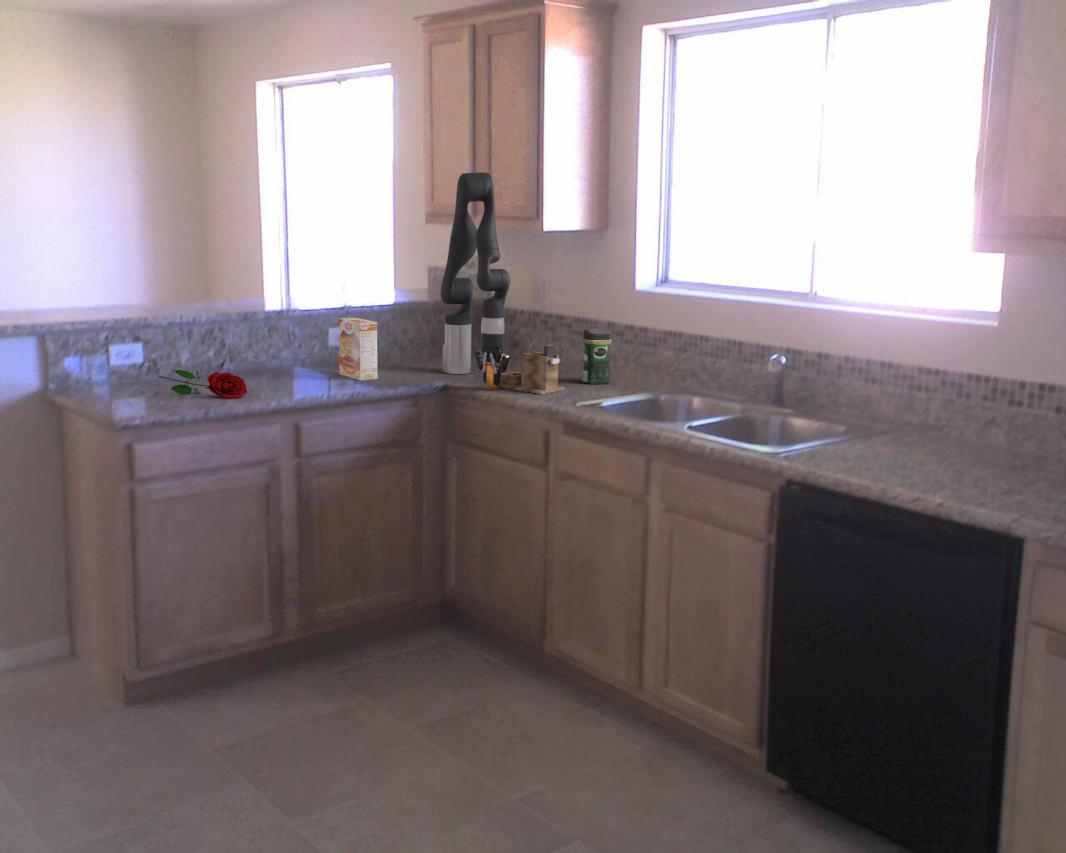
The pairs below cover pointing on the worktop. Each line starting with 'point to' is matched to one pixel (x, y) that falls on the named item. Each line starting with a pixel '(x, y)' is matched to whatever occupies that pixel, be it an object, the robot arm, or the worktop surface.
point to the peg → (490, 378)
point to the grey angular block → (550, 354)
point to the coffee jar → (596, 356)
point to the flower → (214, 384)
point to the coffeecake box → (358, 348)
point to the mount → (533, 375)
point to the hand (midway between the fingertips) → (491, 383)
